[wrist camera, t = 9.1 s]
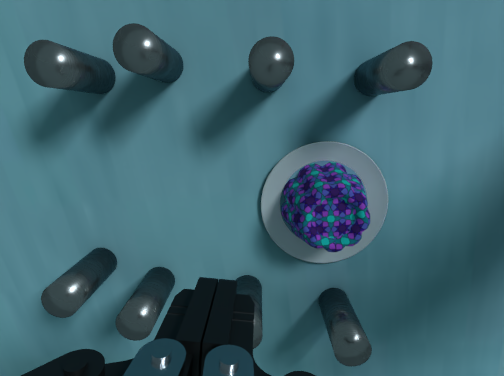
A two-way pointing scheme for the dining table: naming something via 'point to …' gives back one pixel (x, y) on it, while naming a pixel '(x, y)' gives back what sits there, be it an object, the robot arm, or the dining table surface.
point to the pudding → (324, 202)
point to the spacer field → (168, 70)
